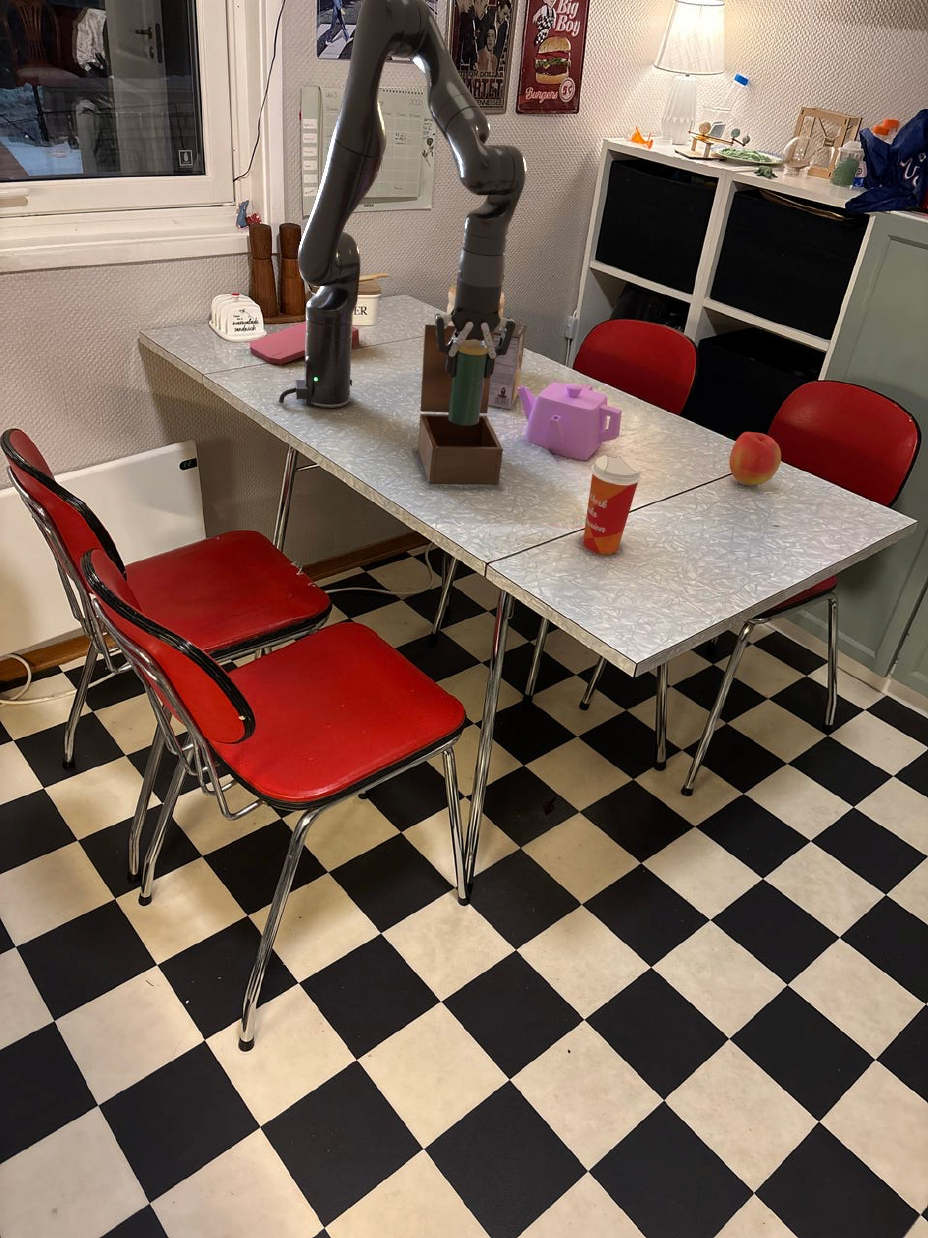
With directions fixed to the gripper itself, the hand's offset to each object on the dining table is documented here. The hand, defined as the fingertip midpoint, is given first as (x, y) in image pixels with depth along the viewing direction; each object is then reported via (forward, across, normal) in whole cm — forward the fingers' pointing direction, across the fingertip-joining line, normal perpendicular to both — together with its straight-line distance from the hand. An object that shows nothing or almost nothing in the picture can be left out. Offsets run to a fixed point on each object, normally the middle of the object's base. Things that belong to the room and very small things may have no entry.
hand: (468, 375), depth 166 cm
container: (+19, -12, -53) cm, 58 cm away
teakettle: (+19, -24, -14) cm, 34 cm away
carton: (+20, +25, -63) cm, 70 cm away
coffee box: (+19, -16, -36) cm, 44 cm away
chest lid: (+3, 0, -10) cm, 10 cm away
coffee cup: (+19, -20, +26) cm, 38 cm away
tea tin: (+8, 0, 0) cm, 8 cm away
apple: (+19, -58, +2) cm, 61 cm away
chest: (+19, 0, -1) cm, 19 cm away
